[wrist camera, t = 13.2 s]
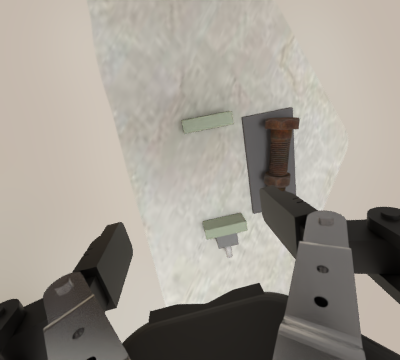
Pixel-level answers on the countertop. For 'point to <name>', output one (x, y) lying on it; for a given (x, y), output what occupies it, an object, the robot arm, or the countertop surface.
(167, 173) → the countertop surface
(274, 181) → the bolt
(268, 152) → the mat
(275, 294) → the robot arm
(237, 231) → the rails
